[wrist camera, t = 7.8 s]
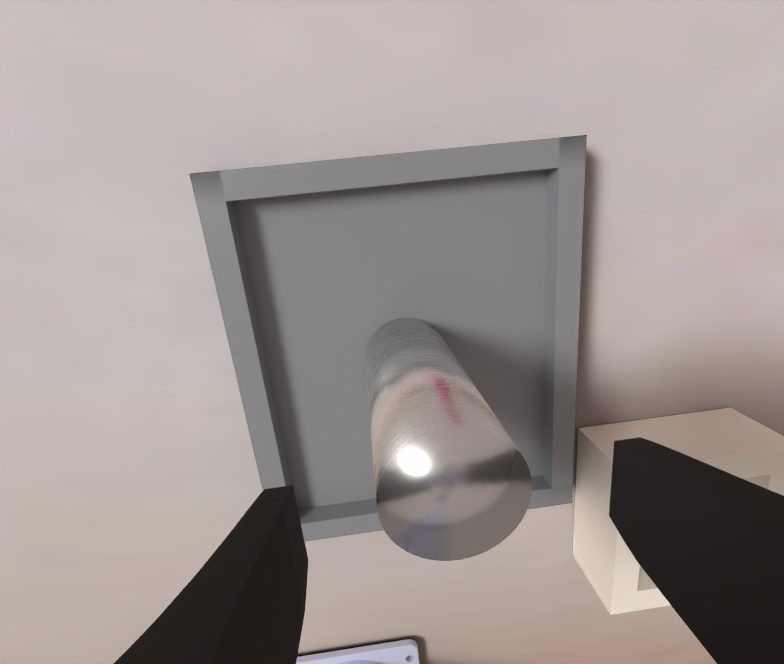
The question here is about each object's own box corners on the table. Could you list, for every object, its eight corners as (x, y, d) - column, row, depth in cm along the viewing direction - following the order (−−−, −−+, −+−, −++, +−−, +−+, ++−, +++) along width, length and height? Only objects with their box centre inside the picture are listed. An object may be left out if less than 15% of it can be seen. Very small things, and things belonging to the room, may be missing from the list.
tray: (556, 481, 21) (571, 502, 19) (281, 520, 20) (275, 545, 19) (565, 141, 16) (586, 135, 15) (205, 176, 15) (189, 173, 14)
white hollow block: (709, 533, 23) (769, 589, 20) (572, 554, 23) (610, 614, 19) (730, 407, 21) (802, 446, 17) (578, 428, 20) (622, 472, 17)
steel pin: (448, 388, 18) (532, 547, 10) (370, 399, 18) (385, 571, 10) (442, 312, 17) (530, 416, 9) (360, 323, 17) (365, 440, 8)
